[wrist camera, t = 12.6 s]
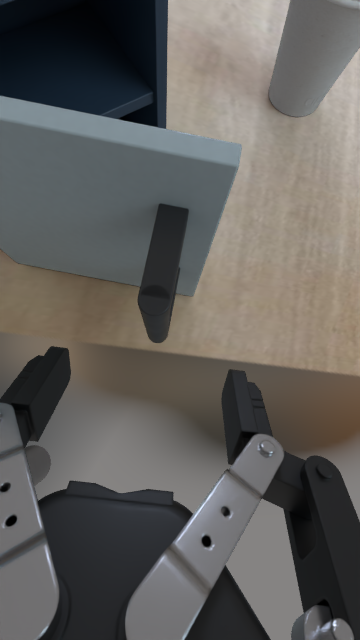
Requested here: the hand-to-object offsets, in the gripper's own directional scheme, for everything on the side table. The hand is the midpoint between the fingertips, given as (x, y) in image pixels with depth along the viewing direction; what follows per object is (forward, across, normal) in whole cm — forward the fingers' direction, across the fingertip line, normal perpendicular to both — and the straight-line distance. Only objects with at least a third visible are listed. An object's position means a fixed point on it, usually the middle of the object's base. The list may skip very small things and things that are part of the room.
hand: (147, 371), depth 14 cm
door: (+10, +5, +3) cm, 12 cm away
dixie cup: (+29, -11, -16) cm, 35 cm away
